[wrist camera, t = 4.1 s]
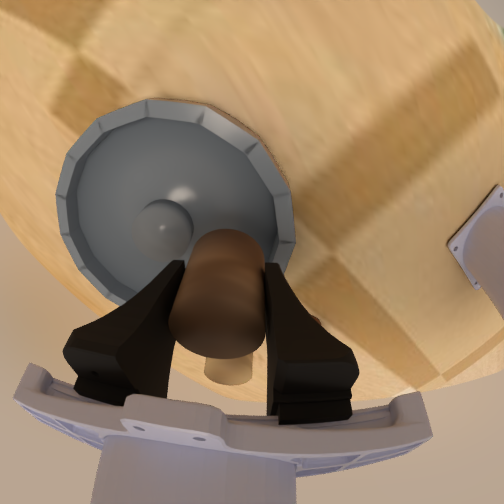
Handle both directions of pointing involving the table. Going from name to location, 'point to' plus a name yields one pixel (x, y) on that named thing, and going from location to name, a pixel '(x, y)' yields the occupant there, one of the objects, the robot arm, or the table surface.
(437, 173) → the table surface
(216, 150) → the tray
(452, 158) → the table surface
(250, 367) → the bead
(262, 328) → the bead
